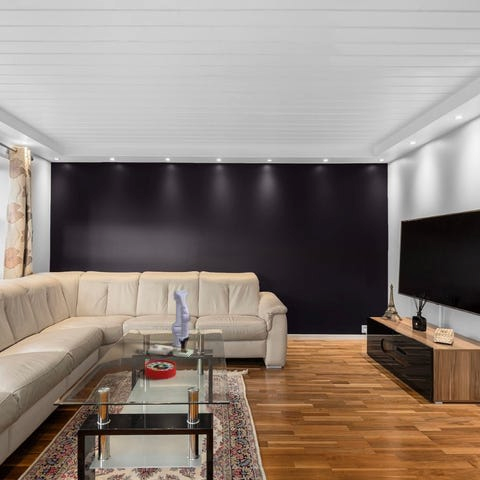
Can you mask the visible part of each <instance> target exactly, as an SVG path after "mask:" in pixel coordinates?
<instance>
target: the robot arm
mask: <svg viewBox="0 0 480 480" xmlns="http://www.w3.org/2000/svg"><path fill="white" fill-rule="evenodd" d="M187 297H188V291H187V289H184V290H183V289H182V290H181V289H179V290H176V289H175V290H173V301H175V305H176V306H175V322H173V323H172V325H171V334H173V338H172V339H173V341H172V344H171V345H170V346H171V347H177V348H182V349H184V348H185V343H186V341H187V344H188V341H189V340H190V337H189V334H190V333H189V331H190V330H189V328H190V322H191V314H190V313H191V312H189V308H188V307H189V306H188V305H187V304H186V300H187ZM187 344H186V346H187Z"/></svg>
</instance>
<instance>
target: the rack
mask: <svg viewBox="0 0 480 480" xmlns="http://www.w3.org/2000/svg"><path fill="white" fill-rule="evenodd" d="M194 352H195V351H194V349H190V348H186V353H181V347H177V349H175V351H173V352H172V356H175V357H180V358H181V357H182V358H187V357H189V356H190V355H191V354H192V355H193V354H194ZM192 355H191V356H192ZM191 356H190V357H191ZM190 357H189V358H190Z"/></svg>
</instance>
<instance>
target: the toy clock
mask: <svg viewBox="0 0 480 480" xmlns="http://www.w3.org/2000/svg"><path fill="white" fill-rule="evenodd" d="M144 365H145V366H144V376H145V377H147V378H149V379H152V380H163V381H164V380H169V379H172V378H174V377H175V376H176V375H177V363H176V362H174V361H172V360H169V359H154V360H153V359H152V360H150V361H148V362H146V363H145V364H144Z"/></svg>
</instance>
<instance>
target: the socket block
mask: <svg viewBox="0 0 480 480" xmlns="http://www.w3.org/2000/svg"><path fill="white" fill-rule="evenodd" d="M156 345H157V346H159V347H158V348H157V349H156V348H154V347H153V346H151V347H150V348H149V349H148V351H147V353H149V354H154V355H155V354H156V355H162V354H163V355H164V356H167V355H168V354H169V353H170V352H171V351H173V349H174V346H171V345H163V344H156Z"/></svg>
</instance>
